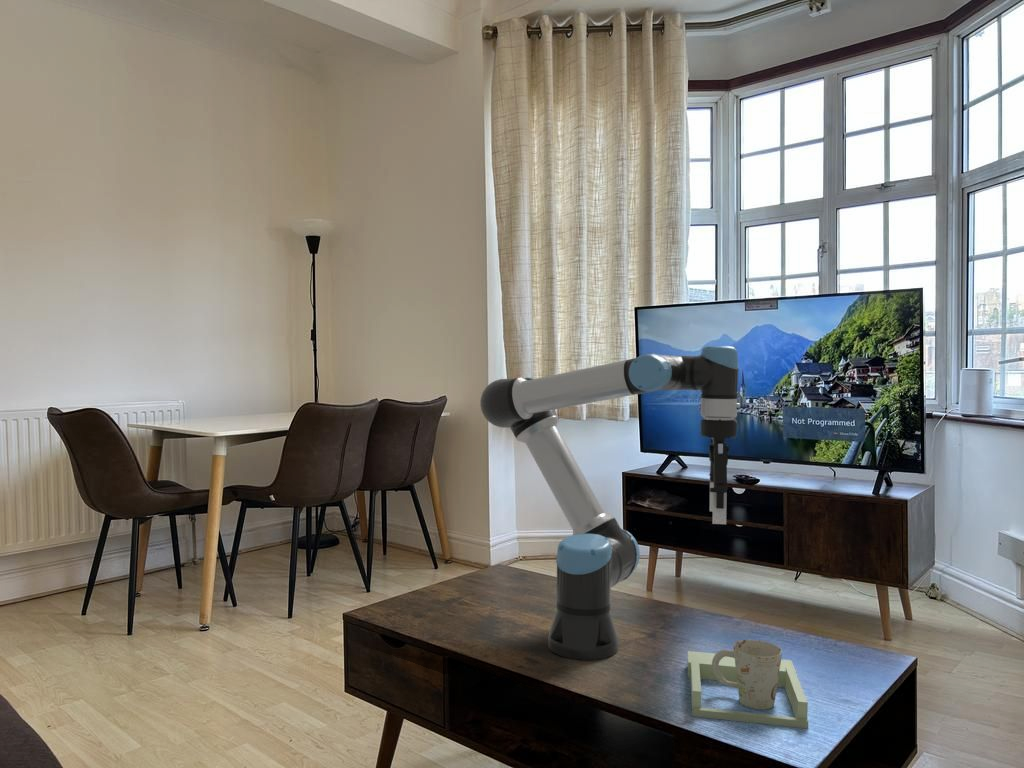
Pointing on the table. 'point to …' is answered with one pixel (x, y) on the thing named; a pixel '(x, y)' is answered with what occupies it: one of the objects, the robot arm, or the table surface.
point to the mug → (753, 672)
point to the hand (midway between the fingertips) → (717, 517)
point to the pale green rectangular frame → (702, 669)
